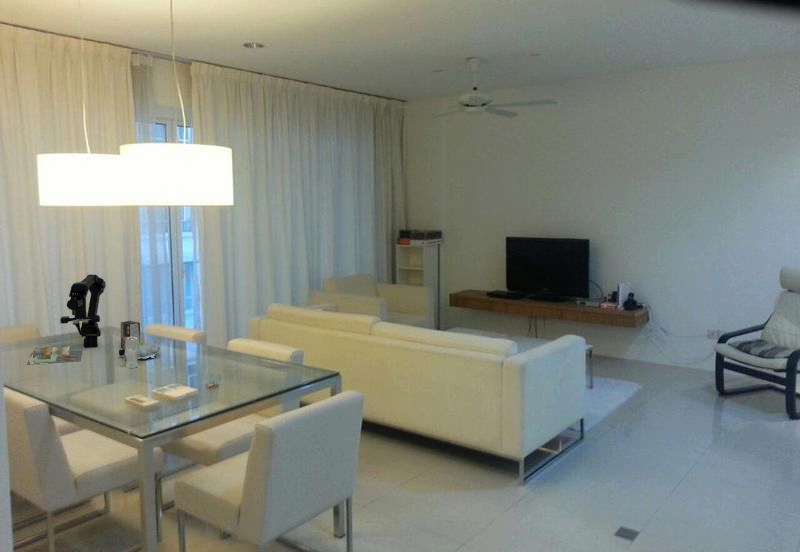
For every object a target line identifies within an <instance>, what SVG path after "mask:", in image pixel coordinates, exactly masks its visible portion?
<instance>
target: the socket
mask: <svg viewBox="0 0 800 552" xmlns="http://www.w3.org/2000/svg"><path fill="white" fill-rule="evenodd" d="M62 358H74V359H62ZM62 361H76V355H73V356H61V357H60V362H62Z"/></svg>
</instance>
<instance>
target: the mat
mask: <svg viewBox="0 0 800 552" xmlns="http://www.w3.org/2000/svg"><path fill="white" fill-rule="evenodd" d="M83 351H84V350H83V349H80V350H70V354H69V356H73V355H76V361H62V362H60V357H61V356H58V358H57V361H56V363H55V364H66V363H79V362H81V361H82V356H83ZM50 353H51V354H50V355H52V351H50ZM62 359H74V358H62ZM33 362H34V361H33ZM49 364H52V363H48V364H47V365H49ZM33 365H35V364H32V366H33ZM26 366H31V364H30V362H29V360H27V363H26Z"/></svg>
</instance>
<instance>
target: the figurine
mask: <svg viewBox="0 0 800 552" xmlns="http://www.w3.org/2000/svg"><path fill="white" fill-rule="evenodd" d="M139 344H140V348H139V355H138V357H145V356H150V355H153V354H155V353H156V354H158V353H159V352H160V349H161V347H160V345H159V344H154V343H153V342H140V343H139ZM118 354H119V355H118V356H119V357H124V358H125V359H126V354H125V349H122V350H121V349H119V350H118Z"/></svg>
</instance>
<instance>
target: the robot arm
mask: <svg viewBox="0 0 800 552" xmlns="http://www.w3.org/2000/svg"><path fill="white" fill-rule="evenodd" d="M106 285H107V284H106V281H105V280H104V278H102V277H100V276H98V275H97V274H87V275H86V277H85V278H83V279H82V280H81V281H75V282H74V283H73V284H71V286H70V291H69V294H68V297H69V298H70V299H69V300H68V301H66V307H67V309H68V310H70V311H71V315H72V316H74V317H70V316H69V315H67V316H61V317H60V320H59V321H60V324H63V325H64V324H68V323H70V322H72V326H75V327H76V329H77V331H78V333H79V335H80V336H81V337H82V338H83V337H84V338H83V347H84V348H85V349H94V348H95V349H96V348H98V347H99V343H98V338H99V337H101V335H102V333H101V332H102V331H101V330H100V328H99V323H100V322H101V315H99V314H98V309H99V304H100V296H101V295H102V294H103V293H104V292H105V289H106ZM88 293H90V297H89V304H88V309H87V297H88ZM81 321H82V322H81ZM80 322H81V324H80Z"/></svg>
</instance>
